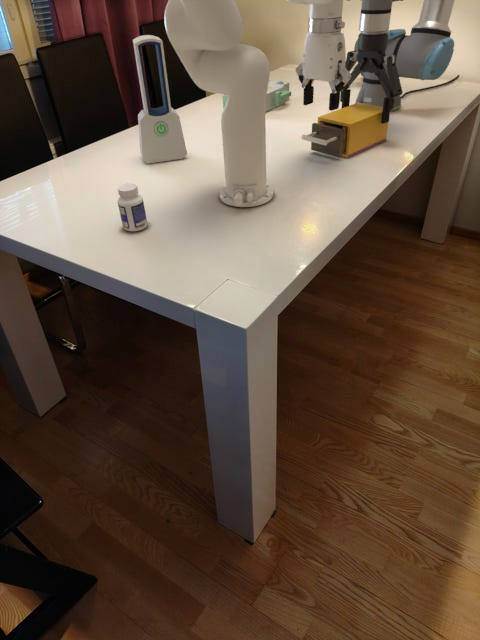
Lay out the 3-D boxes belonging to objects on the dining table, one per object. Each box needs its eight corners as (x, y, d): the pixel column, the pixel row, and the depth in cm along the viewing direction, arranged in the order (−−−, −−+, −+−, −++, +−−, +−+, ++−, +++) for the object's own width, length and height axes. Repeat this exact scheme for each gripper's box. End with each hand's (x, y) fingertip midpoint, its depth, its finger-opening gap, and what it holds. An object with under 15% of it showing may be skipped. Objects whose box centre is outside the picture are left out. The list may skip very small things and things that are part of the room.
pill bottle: (149, 220, 107) (142, 181, 102) (146, 231, 103) (138, 191, 98) (125, 221, 107) (116, 182, 102) (121, 232, 103) (112, 193, 98)
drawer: (326, 163, 127) (328, 135, 123) (298, 155, 133) (299, 128, 128) (376, 140, 139) (379, 115, 134) (348, 134, 144) (350, 109, 140)
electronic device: (143, 164, 135) (122, 41, 116) (140, 155, 141) (120, 37, 122) (187, 158, 137) (173, 36, 119) (183, 149, 143) (169, 32, 124)
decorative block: (254, 76, 186) (299, 81, 176) (254, 94, 190) (299, 100, 180) (212, 92, 170) (260, 98, 160) (214, 111, 174) (260, 118, 164)
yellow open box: (347, 158, 132) (350, 124, 126) (316, 149, 138) (317, 117, 133) (385, 140, 141) (390, 108, 136) (354, 133, 148) (357, 102, 142)
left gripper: (365, 26, 109) (358, 109, 120) (306, 22, 120) (304, 98, 131) (345, 31, 106) (339, 116, 116) (285, 26, 116) (285, 104, 127)
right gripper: (425, 33, 120) (410, 123, 133) (343, 27, 135) (337, 108, 148) (408, 37, 116) (395, 129, 129) (326, 30, 131) (321, 113, 144)
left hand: (320, 106), depth 123 cm, fingers open, 7 cm apart
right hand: (364, 118), depth 138 cm, fingers open, 13 cm apart
